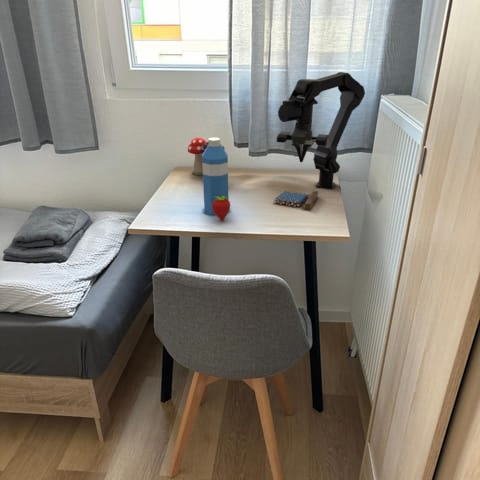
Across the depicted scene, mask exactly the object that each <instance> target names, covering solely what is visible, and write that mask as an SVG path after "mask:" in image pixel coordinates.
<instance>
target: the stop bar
mask: <svg viewBox="0 0 480 480" xmlns="http://www.w3.org/2000/svg"><path fill="white" fill-rule="evenodd" d="M318 194H319V191H316V190H312V192H311V193H310V194H309V196H308V197H309V198H308V199H307V200H306V201H305V202H304V208H303V209H304V210H305V211H311V209H312V207H313V206H314V204H315V202H316V201H317V199H318V198H319V197H318V196H319V195H318Z"/></svg>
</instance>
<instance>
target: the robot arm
mask: <svg viewBox="0 0 480 480" xmlns="http://www.w3.org/2000/svg"><path fill="white" fill-rule="evenodd" d="M335 88H337V90H338V91H339V93H340V96H339V104H340V106H339V108H338V111H337V112H336V116H335V118H334V120H333V123H332V125H331V128H330V130H329V132H328V134H323V133H319V134H318V135H317V136H315V135H314V136H313V130H312V128H313V127H312V125H313V115H314V113H313V111H314V105H318V104H319V102H318V101H317V100H316V97H318V96H320V94H321V93H322V92H326V91H328V90H332V89H335ZM365 94H366V91H365V87H364V85H362V84H361V83H360V82H359V81H357V80H356V79H355V78H354V77H353V76H352V75H351V74H350V73H349V72H344V71H338V72H336V73H333V74H329V75H327V76H324V77H320V78H316V79H313V78H312V79H311V78H300V79H298V80H297V81H296V84H295V86H294V87H293V89H292V92H291V94H290V96H289V97H288V100H282V104H281V105H280V106H279V108H278V111H277V116H278V119H279V120H280V122H282V123H289V122H293V121H295V125H294V129H293V131H292V133H291V131H284V130H281V131H280V132H279V133H278V134H277V135H276V143H283V144H285V143H286V142H287V141H291V146H292V147H294V148H295V150H296V153H297V156H298V160H299V163H303V162H304V159H305V158H306V154H307V152H308V150H309V148H311V147H312V146H313V145H314V143H315V144H316V145H317V146H316V150H315V151H314V153H313V158H312V159H313V163H314V168H315V170H319V174H318V182H317V184H316V185H315V187H316V188H326V189H333V188H334V186H335V184H336V183H335V182H334V175H335V174H337V173H338V172H339V170H340V169H341V165H340V164H339V163H338V161H337V159H338V145H339V143H340V141H341V139H342V137H343V134H344V132H345V129H346V127H347V125H348V123H349V122H348V121H349V120H350V118H351V116H352V113H353V111H354V110H356V108H358V107H359V106H360V104H361V103H362V101H363V99H364V98H365Z"/></svg>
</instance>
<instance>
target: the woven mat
mask: <svg viewBox="0 0 480 480" xmlns="http://www.w3.org/2000/svg"><path fill="white" fill-rule="evenodd" d="M309 196H310V194H307V193H301V192H300V193H299V192H295V191H287V190H285V191H282V192H281V193H280V194H279V195H278V196H276V197H275V198H274V199H273V201H274V202H273V203H274V204H279V205H285V206H289V207H290V206H293V207H294V208H295V207H296V206H297V208H299V207H301V206H302V204H304V203H305V202H306V201H307V199H308V198H309Z"/></svg>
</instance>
